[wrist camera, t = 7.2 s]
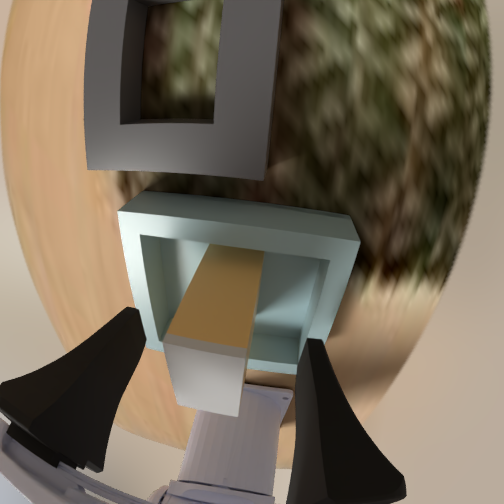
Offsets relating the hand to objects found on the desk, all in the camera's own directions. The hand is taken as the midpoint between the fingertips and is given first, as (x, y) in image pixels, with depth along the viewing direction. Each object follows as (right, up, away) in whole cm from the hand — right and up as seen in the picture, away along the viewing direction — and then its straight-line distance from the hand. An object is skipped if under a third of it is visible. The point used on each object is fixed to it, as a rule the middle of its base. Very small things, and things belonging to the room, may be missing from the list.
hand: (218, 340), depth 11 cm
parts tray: (+1, +2, +4) cm, 4 cm away
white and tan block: (0, +2, +3) cm, 4 cm away
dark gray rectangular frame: (-2, +12, -2) cm, 12 cm away
